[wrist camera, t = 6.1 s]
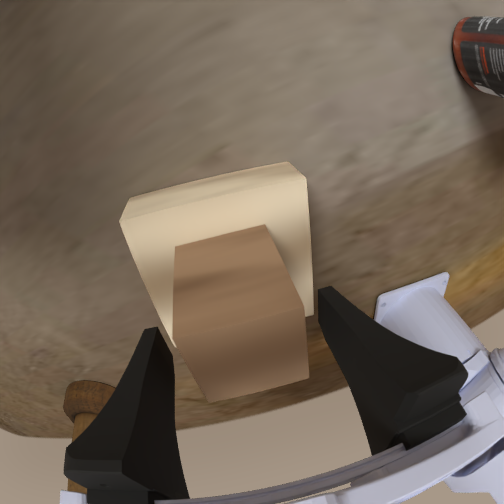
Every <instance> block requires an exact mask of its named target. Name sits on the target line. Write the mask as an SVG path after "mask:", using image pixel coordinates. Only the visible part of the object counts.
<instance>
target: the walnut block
mask: <svg viewBox="0 0 504 504" xmlns="http://www.w3.org/2000/svg"><path fill="white" fill-rule="evenodd" d="M172 339H173V341H174V343H175V345H176V346H177V348H178V350H179V352H180V354H181V356H182V357H183V359H184V361H185V363H186V365H187V366H188V368H189V370H190V372H191V373H192V375H193V377H194V379H195V380H196V382H197V384H198V385H199V387H200V389H201V390H202V392H203V394H204V395H205V397H206V399H207V400H208V402H209V403H210V402H215V401H220V400H225V399H230V398H234V397H239V396H243V395H248V394H252V393H256V392H260V391H264V390H268V389H272V388H276V387H280V386H283V385H287V384H290V383H294V382H297V381H301V380H304V379H308V378H309V365H308V349H307V335H306V321H305V309H304V305H303V303H302V300H301V298H300V296H299V294H298V292H297V290H296V288H295V286H294V283H293V281H292V279H291V277H290V275H289V273H288V271H287V269H286V267H285V265H284V262H283V260H282V258H281V256H280V254H279V252H278V250H277V248H276V246H275V244H274V242H273V240H272V238H271V235H270V233H269V231H268V229H267V227H266V225H265V224H263V225H259V226H255V227H251V228H247V229H243V230H239V231H235V232H231V233H227V234H223V235H219V236H215V237H211V238H207V239H203V240H199V241H195V242H191V243H187V244H183V245H179V246H175V256H174V280H173V323H172Z"/></svg>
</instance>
